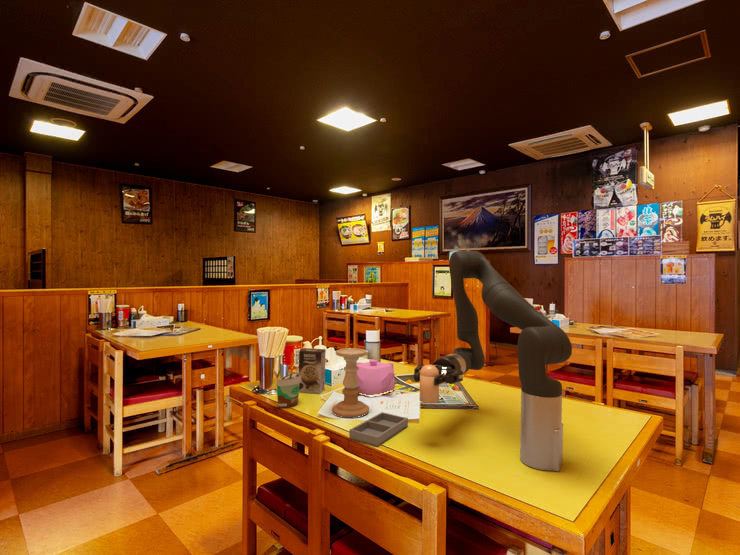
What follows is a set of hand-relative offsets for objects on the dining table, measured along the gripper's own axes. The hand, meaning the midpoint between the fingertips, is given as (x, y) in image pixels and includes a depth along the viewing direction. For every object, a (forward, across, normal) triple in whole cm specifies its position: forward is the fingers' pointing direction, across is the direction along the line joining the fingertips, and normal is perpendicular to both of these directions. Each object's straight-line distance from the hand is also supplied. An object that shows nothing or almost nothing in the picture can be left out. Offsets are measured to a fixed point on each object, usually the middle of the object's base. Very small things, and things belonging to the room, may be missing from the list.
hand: (425, 380), depth 105 cm
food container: (-5, -53, +18) cm, 56 cm away
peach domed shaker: (-3, 0, +6) cm, 7 cm away
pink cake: (-34, -38, +18) cm, 54 cm away
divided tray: (-1, -15, +18) cm, 23 cm away
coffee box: (-21, -58, +18) cm, 64 cm away
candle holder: (-11, -32, +18) cm, 38 cm away
